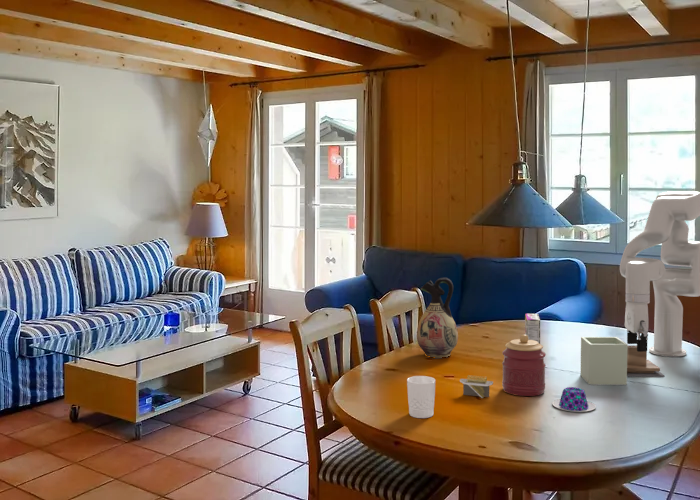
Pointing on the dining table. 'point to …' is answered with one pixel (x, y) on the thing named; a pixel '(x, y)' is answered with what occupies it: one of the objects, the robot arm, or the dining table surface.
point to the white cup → (421, 396)
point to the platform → (476, 386)
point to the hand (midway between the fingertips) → (636, 347)
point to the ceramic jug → (437, 322)
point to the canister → (524, 367)
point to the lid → (639, 361)
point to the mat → (646, 374)
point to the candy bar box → (532, 327)
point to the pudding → (573, 400)
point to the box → (604, 360)
